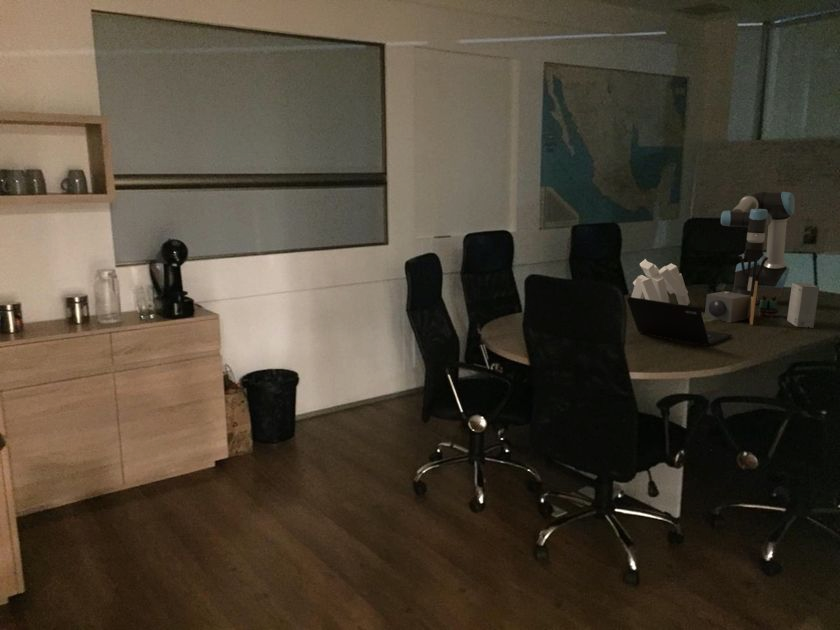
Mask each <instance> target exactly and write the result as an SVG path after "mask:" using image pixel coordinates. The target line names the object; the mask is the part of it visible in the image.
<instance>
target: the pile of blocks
mask: <svg viewBox="0 0 840 630" xmlns="http://www.w3.org/2000/svg"><path fill="white" fill-rule="evenodd" d="M639 266H640V268H641V269H642V271H643V273H644V275H643V274H640V275H638V276H637V278H635V279H634V281H633V282H632V284H633V285H634V287H633V290H632V293H631V296H630V297H633V298H640V299H647V300H654V301H660V302H667V303H671V301H670V297H669V294H670V295H672V294H675V297H676V300H677V304H681V305H688V306H689V304H690V303H691V302H690V297H689V295H688V293H689V291H688V290H687V287H686V284H685V281H684V278H683V275H682V274H683V273H680V272H679V268H678V266H677V265H675V264H673V263H669V264H668V265H664V266H663V267H662V268H659V267H658V266H657V265H656V264H654V263H652V262H650V261H648V259H646V258H644V259H643V260H642V261H641V262H640V263H639ZM668 293H669V294H668Z"/></svg>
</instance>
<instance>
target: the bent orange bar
mask: <svg viewBox="0 0 840 630" xmlns="http://www.w3.org/2000/svg"><path fill="white" fill-rule="evenodd" d="M757 285H758V281H755V286H754V294H753V297H751V302H750V305H749V312H748V321H749V325H754V324H753V323H754V316H755V309H756V308H755V307H756V304H755V301H756V293H757V294H758V286H757Z"/></svg>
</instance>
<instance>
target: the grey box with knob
mask: <svg viewBox="0 0 840 630" xmlns="http://www.w3.org/2000/svg"><path fill="white" fill-rule="evenodd" d="M705 298H706V299H705V307H704V309H705V310H704V318H705V317H709V318H708V319H710V318H713V319H712V320H715V319H716V321H720V320H721V321H722V322H725V321H726V322H727V323H734V322H738V321H739V320H740V321H743V320H749V310H750V305H749V304H750V295H744V294H738V293H732V291H731V292H730V291H725V290H724V291H720V292H714V293H713V292H711V293H706V297H705ZM721 321H720V322H721ZM740 321H739V322H740Z"/></svg>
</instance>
